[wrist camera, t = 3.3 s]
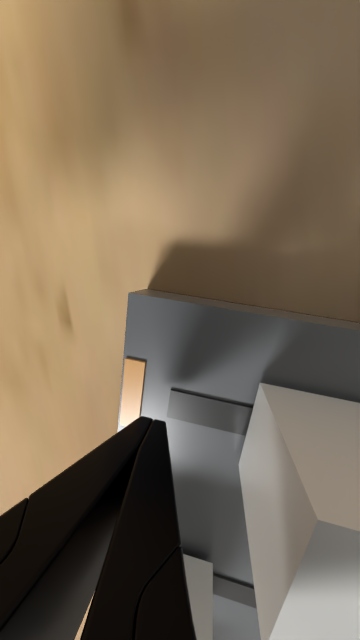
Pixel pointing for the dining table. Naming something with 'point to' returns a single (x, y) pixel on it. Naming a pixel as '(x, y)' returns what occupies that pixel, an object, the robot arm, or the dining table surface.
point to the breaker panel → (223, 413)
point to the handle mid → (200, 595)
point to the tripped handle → (303, 514)
